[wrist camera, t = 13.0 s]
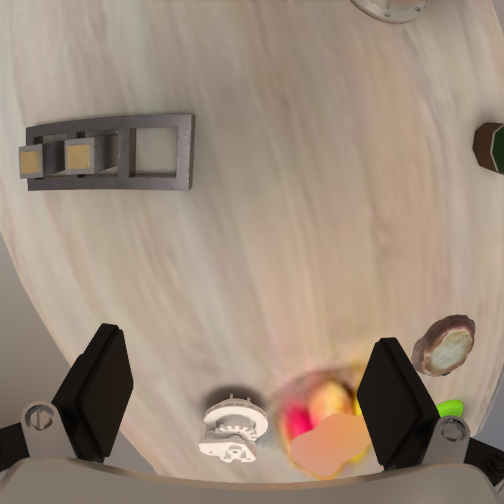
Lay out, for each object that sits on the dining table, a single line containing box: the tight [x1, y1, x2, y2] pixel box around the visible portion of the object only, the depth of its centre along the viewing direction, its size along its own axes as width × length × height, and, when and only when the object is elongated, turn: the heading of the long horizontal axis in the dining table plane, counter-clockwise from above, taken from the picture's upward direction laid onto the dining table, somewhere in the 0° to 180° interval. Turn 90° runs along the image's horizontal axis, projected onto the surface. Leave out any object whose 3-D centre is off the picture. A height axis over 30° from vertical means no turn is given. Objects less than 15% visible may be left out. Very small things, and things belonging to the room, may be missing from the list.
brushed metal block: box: [65, 135, 118, 175], centre depth 33 cm, size 4×4×8 cm
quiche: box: [411, 315, 475, 377], centre depth 49 cm, size 21×20×4 cm
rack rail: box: [26, 115, 195, 191], centre depth 35 cm, size 24×9×2 cm, turn 86°
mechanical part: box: [199, 394, 268, 462], centre depth 48 cm, size 11×12×12 cm
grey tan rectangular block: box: [19, 140, 65, 179], centre depth 33 cm, size 4×4×8 cm
